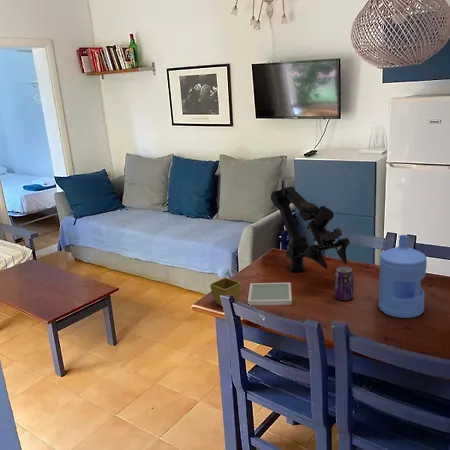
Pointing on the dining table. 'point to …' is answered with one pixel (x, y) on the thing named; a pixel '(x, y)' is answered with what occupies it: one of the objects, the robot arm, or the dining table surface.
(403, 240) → the water jug
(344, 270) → the beverage can
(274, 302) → the tray
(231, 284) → the flower pot
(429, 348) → the dining table surface
